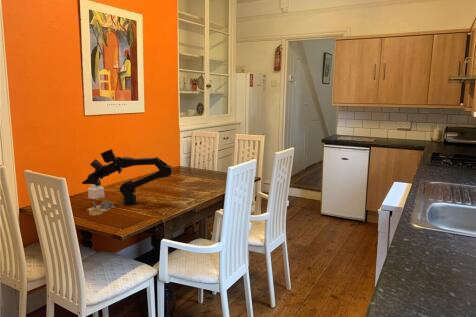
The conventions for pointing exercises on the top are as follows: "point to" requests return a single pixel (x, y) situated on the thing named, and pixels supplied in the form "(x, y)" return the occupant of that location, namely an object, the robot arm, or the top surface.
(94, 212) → the brass gear
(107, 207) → the grey gear
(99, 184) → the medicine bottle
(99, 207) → the birch gear board
